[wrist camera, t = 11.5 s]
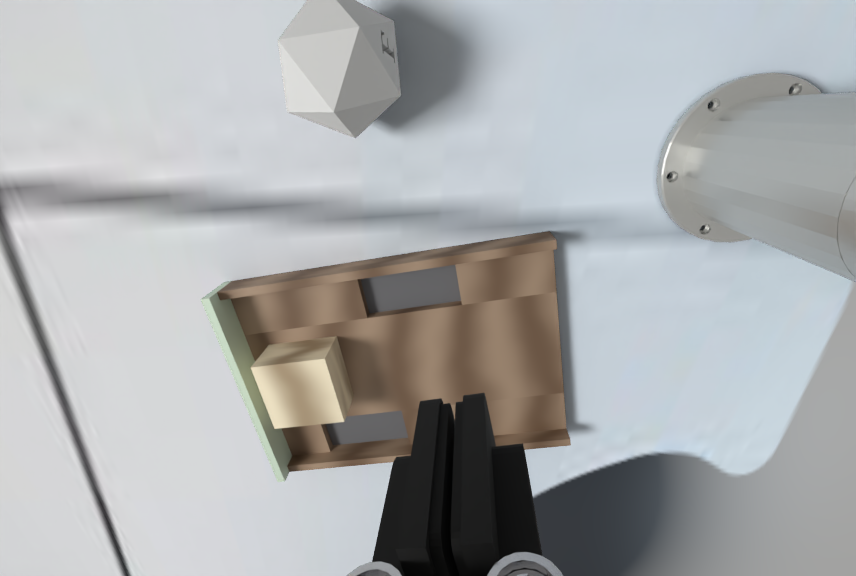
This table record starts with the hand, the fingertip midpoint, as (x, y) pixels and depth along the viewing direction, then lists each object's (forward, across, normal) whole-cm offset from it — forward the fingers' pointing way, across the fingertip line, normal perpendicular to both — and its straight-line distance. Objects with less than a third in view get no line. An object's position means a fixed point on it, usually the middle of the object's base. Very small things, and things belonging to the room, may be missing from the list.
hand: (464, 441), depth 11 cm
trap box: (+27, +10, +14) cm, 32 cm away
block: (+26, +18, +13) cm, 34 cm away
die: (+28, +7, -12) cm, 31 cm away
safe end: (+27, +24, +13) cm, 38 cm away
